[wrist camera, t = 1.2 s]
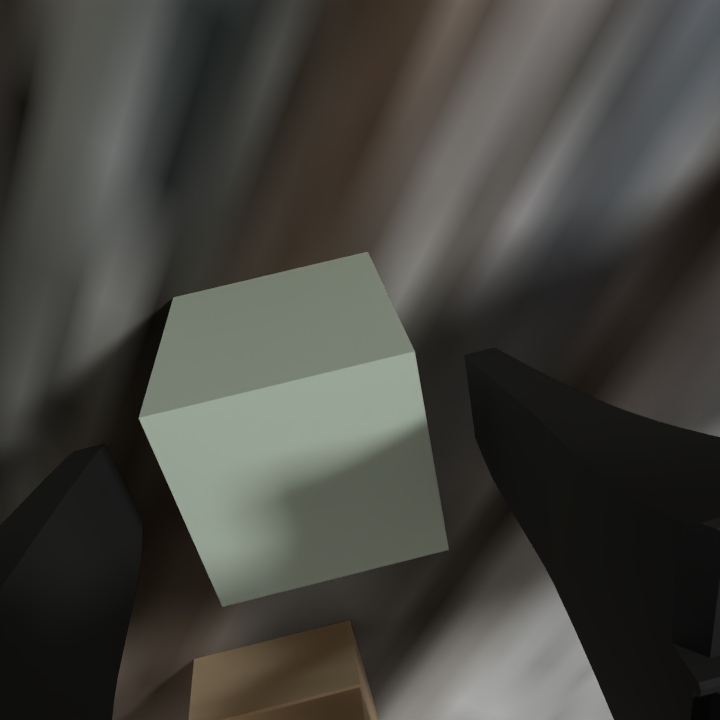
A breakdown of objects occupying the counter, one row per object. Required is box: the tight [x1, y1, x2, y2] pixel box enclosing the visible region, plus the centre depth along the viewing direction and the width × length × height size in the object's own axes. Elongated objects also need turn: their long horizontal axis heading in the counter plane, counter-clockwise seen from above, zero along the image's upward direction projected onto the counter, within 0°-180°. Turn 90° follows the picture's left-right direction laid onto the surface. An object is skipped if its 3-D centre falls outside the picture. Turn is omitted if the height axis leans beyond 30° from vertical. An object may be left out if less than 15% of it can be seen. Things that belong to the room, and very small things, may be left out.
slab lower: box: [188, 620, 378, 720], centre depth 20 cm, size 5×5×2 cm
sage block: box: [139, 252, 449, 607], centre depth 13 cm, size 4×4×5 cm
